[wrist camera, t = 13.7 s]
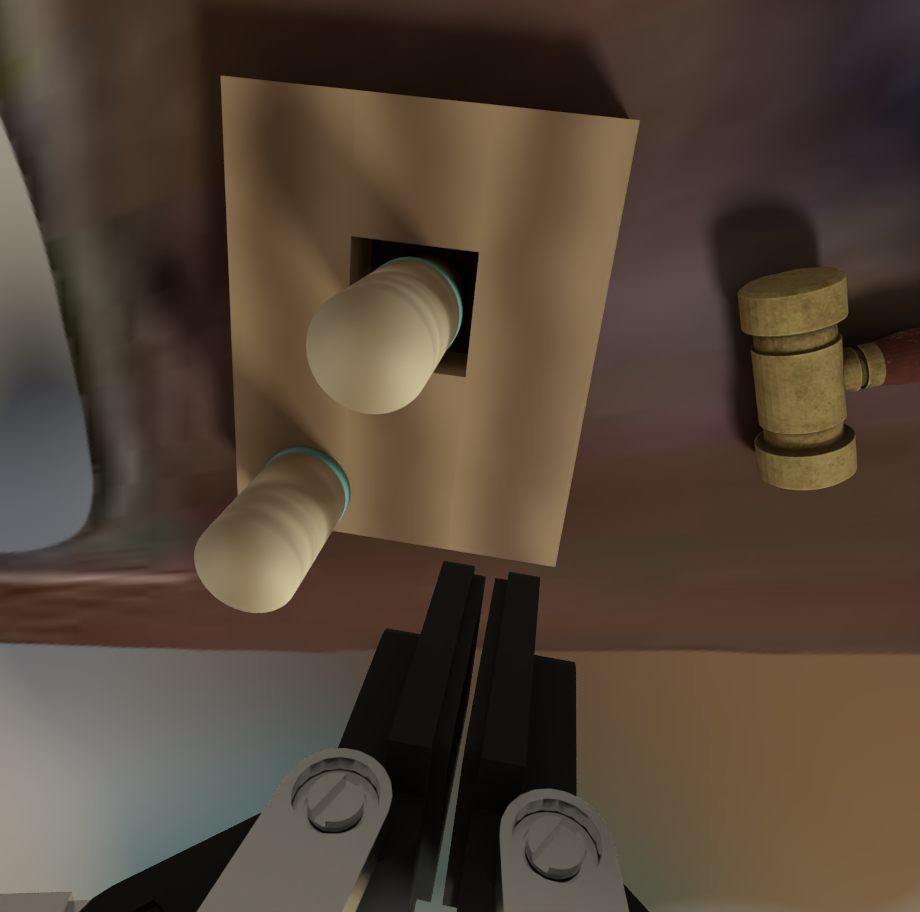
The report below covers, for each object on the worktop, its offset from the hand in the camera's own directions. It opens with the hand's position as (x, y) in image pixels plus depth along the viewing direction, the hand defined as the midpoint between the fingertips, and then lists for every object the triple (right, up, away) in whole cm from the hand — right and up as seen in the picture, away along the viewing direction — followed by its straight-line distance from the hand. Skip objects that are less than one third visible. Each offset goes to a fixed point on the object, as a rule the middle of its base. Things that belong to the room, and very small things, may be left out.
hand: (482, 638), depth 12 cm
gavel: (+24, +9, +22) cm, 34 cm away
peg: (-2, +12, +25) cm, 27 cm away
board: (-2, +10, +25) cm, 27 cm away
